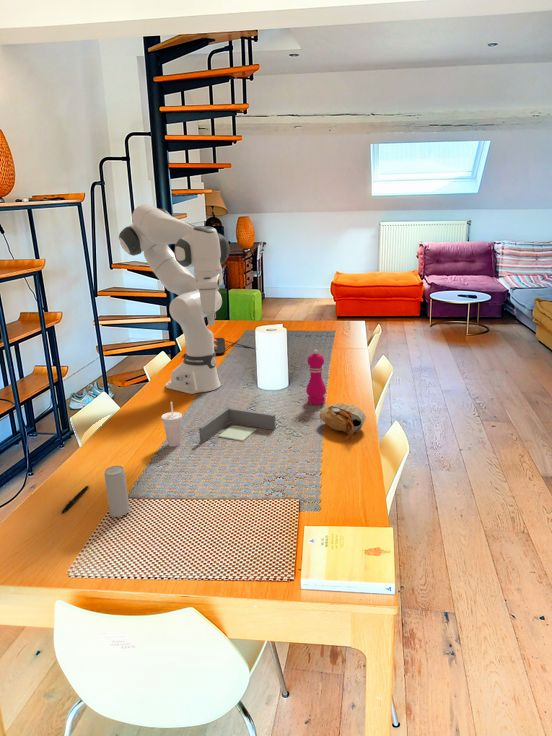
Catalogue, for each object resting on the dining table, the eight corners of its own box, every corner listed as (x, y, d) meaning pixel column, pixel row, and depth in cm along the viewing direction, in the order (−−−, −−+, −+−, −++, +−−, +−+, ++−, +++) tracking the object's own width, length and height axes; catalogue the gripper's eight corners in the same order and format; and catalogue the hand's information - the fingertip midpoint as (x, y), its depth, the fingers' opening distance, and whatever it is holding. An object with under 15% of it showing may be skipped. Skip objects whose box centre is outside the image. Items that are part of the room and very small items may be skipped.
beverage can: (112, 508, 141) (106, 466, 137) (131, 507, 141) (125, 464, 138) (108, 519, 137) (101, 475, 133) (128, 517, 137) (122, 474, 133)
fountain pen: (88, 485, 153) (87, 480, 152) (92, 486, 153) (91, 481, 152) (59, 514, 139) (58, 509, 139) (64, 515, 139) (63, 510, 139)
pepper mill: (324, 405, 202) (324, 352, 196) (305, 404, 203) (304, 352, 197) (327, 398, 209) (326, 347, 202) (308, 397, 210) (307, 346, 204)
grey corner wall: (200, 442, 176) (199, 427, 175) (228, 420, 192) (227, 407, 190) (250, 451, 169) (250, 436, 167) (275, 428, 184) (275, 414, 183)
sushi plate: (196, 342, 293) (196, 335, 292) (253, 338, 296) (253, 331, 295) (195, 358, 266) (194, 350, 264) (258, 354, 268) (257, 346, 267)
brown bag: (369, 447, 170) (320, 449, 171) (364, 415, 190) (320, 418, 191) (369, 424, 167) (319, 426, 169) (363, 394, 187) (318, 397, 188)
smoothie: (188, 440, 178) (184, 399, 173) (178, 449, 172) (174, 407, 167) (170, 438, 180) (166, 398, 175) (160, 447, 174) (155, 405, 170)
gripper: (201, 275, 186) (204, 315, 190) (195, 284, 166) (199, 329, 171) (220, 274, 186) (223, 314, 190) (217, 283, 167) (220, 328, 171)
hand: (212, 322), depth 180 cm, fingers open, 8 cm apart
